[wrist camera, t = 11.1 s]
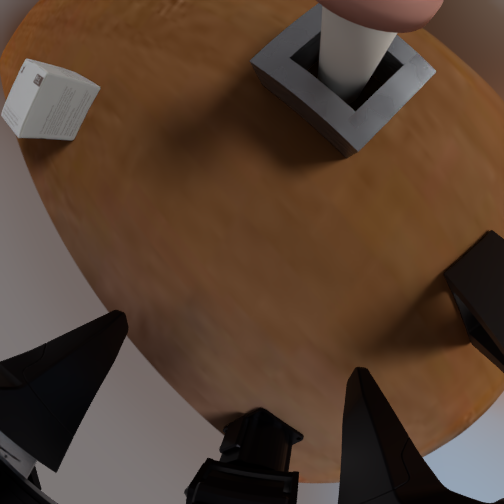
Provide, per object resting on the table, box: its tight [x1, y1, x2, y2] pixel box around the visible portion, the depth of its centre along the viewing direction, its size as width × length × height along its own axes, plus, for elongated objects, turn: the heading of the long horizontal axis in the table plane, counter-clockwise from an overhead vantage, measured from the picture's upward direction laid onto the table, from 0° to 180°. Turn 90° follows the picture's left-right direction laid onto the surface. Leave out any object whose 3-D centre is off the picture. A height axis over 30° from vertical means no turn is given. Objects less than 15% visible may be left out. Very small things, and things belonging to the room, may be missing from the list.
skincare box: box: [1, 59, 100, 141], centre depth 17 cm, size 6×6×7 cm
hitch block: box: [250, 3, 436, 158], centre depth 14 cm, size 8×8×4 cm
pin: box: [316, 0, 443, 104], centre depth 10 cm, size 5×5×13 cm
